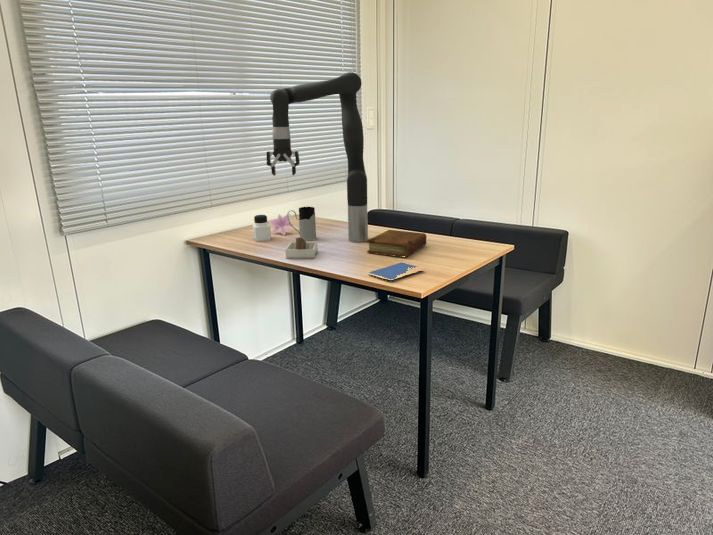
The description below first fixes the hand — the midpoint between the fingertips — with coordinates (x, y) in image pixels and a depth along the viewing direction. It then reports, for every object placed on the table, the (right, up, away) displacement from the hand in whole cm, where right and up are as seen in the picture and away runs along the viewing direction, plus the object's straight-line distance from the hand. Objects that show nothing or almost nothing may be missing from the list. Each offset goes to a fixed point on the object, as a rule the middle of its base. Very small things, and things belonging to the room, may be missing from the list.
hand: (283, 175), depth 224 cm
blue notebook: (+48, -43, -31) cm, 71 cm away
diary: (+51, -33, +2) cm, 60 cm away
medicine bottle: (-13, -28, +20) cm, 37 cm away
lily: (-5, -24, +34) cm, 41 cm away
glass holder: (+6, -27, +21) cm, 35 cm away
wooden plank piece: (+8, -31, -15) cm, 35 cm away
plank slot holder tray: (+9, -35, -6) cm, 37 cm away
